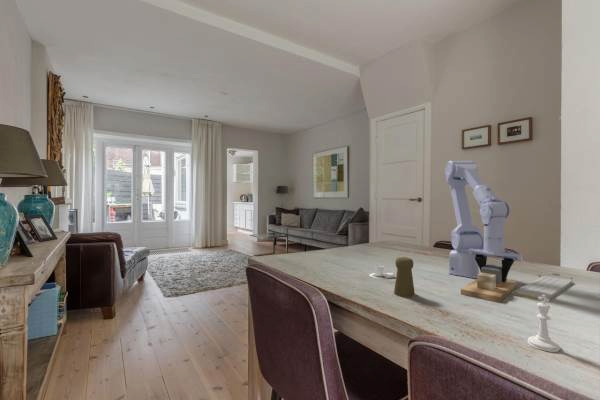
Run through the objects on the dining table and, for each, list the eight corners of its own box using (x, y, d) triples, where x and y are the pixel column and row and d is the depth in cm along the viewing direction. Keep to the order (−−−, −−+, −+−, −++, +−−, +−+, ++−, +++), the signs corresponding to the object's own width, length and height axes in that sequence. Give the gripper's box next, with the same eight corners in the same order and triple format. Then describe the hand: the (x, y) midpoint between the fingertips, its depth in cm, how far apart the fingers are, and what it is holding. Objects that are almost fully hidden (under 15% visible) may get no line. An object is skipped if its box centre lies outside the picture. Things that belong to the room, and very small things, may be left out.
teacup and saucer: (397, 278, 108) (397, 267, 108) (383, 281, 104) (383, 270, 104) (378, 273, 116) (378, 262, 116) (364, 276, 111) (364, 265, 111)
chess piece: (550, 354, 55) (551, 300, 55) (522, 342, 59) (522, 292, 59) (565, 348, 57) (565, 297, 57) (536, 337, 61) (536, 289, 61)
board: (460, 294, 89) (460, 289, 89) (482, 280, 104) (482, 275, 104) (499, 302, 82) (499, 297, 82) (516, 286, 97) (516, 281, 97)
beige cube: (477, 287, 90) (477, 274, 90) (481, 285, 93) (481, 272, 93) (492, 290, 88) (492, 277, 88) (495, 287, 90) (495, 274, 90)
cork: (389, 292, 91) (389, 256, 91) (404, 289, 94) (404, 255, 94) (403, 298, 86) (403, 260, 86) (419, 295, 88) (419, 258, 88)
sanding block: (481, 283, 95) (481, 267, 95) (489, 278, 101) (489, 263, 101) (499, 286, 92) (499, 270, 91) (506, 281, 98) (506, 266, 98)
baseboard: (504, 294, 91) (546, 304, 83) (505, 285, 91) (546, 294, 83) (536, 278, 109) (572, 284, 101) (536, 270, 109) (572, 276, 101)
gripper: (465, 237, 99) (465, 277, 99) (518, 241, 88) (518, 287, 88) (472, 235, 104) (472, 273, 104) (523, 239, 93) (523, 282, 93)
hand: (493, 279), depth 96 cm, fingers closed on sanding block, 5 cm apart
